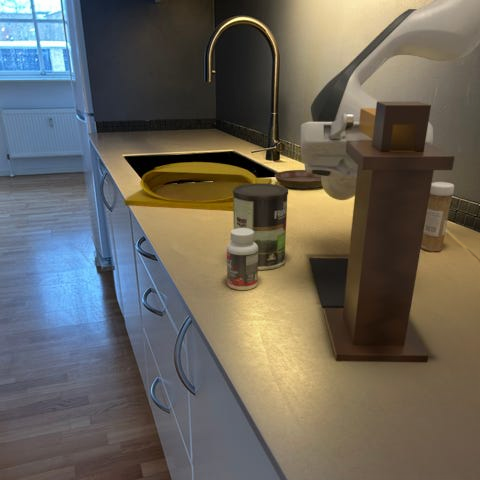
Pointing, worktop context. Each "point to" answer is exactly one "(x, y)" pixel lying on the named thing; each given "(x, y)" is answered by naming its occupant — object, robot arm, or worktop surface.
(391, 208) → the pedestal
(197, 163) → the mold
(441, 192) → the spice jar
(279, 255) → the coffee can
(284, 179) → the plant saucer
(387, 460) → the worktop surface
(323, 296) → the mat
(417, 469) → the worktop surface
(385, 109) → the brown and tan bar
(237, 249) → the pill bottle
